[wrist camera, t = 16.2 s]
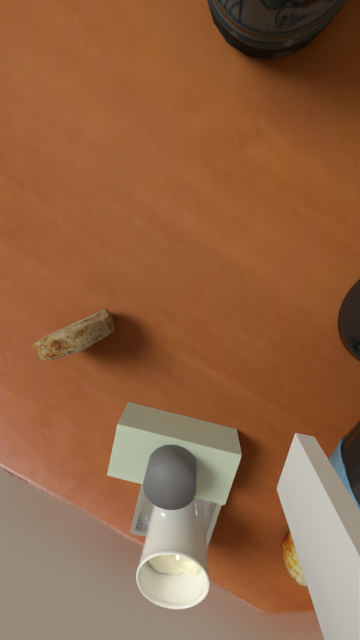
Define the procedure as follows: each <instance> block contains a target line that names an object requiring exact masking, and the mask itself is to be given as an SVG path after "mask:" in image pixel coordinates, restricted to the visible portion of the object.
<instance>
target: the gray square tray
mask: <svg viewBox="0 0 360 640" xmlns="http://www.w3.org/2000/svg"><path fill="white" fill-rule="evenodd" d="M202 501H203V506H204V517H205V530H206V544H207V547H208V544H209V542H210V539H211V536H212V533H213V530H214V527H215V524H216V521H217V518H218V515H219V512H220V509H221V506H222V505H221V504H217V503H214V502H210V501H206V500H202ZM153 508H154V504H152V503H151V502H150V501H149V500H148V499H147V497H146V496H145V494H144V491H143V484H141V488H140V492H139V496H138V500H137V504H136V508H135V513H134V517H133V521H132V525H131V529H130V533H132V534H135V535H139V536H143V537H146V535H147V531H148V527H149V523H150V519H151V515H152V511H153Z"/></svg>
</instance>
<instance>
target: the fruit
mask: <svg viewBox="0 0 360 640" xmlns="http://www.w3.org/2000/svg"><path fill="white" fill-rule="evenodd" d="M281 546H282V554H283V561H284V562H283V563H284V564H285V567H286V569H287V570H288V572H289V574H290V575H291V577H293V578H294V579H295V580H296V581H297V582H298V583H299V584H301V585H303V586H306V587H307V588H308V586H307V583H306V580H305V577H304V573H303V570H302V567H301V564H300V561H299V558H298V555H297V551H296V548H295V545H294V542H293V539H292V536H291V532H290V531H289V533H288V534H286V536H285V538H284V540H283V542H282V545H281Z"/></svg>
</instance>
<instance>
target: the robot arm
mask: <svg viewBox="0 0 360 640" xmlns="http://www.w3.org/2000/svg"><path fill="white" fill-rule="evenodd" d="M338 330H339V335H340V338H341V341H342V343H343V345H344V347H345V348H346V350H347V351H348V352H349V353H350V354H351V355H352V356H353V357H354V358H356V359H357V360H358V361H360V280H359V281H358V282H356V283H355V285H354V286H353V287H352V288H351V289H350V290H349V292H348V293H347V295H346V297H345V298H344V300H343V303H342V305H341V308H340V311H339V316H338ZM277 491H278V495H279V498H280V501H281V504H282V507H283V510H284V514H285V517H286V520H287V523H288V526H289V529H290V532H291V536H292V539H293V542H294V545H295V548H296V551H297V555H298V558H299V561H300V564H301V567H302V570H303V573H304V577H305V580H306V583H307V586H308V589H309V592H310V596H311V599H312V602H313V605H314V608H315V611H316V614H317V617H318V621H319V624H320V627H321V630H322V633H323V637H324V640H360V421H359V422H358V423H357V424H356V426H355V427H354V428H353V429H352V430H351V431H350V432H349V433H348V434H347V435H345V436H343V437H342V438H341V439H340V441H339V443H338V446H337V448H336V449H335V450H334V452H333V453H332V454H331V456H330V457H329V458H327V457H326V455H325V453H324V452H323V450H322V448H321V447H320V445H319V443H318V442H317V440H316V439H315V437H313V436H308V435H303V434H299V433H295V435H294V438H293V441H292V444H291V447H290V450H289V453H288V456H287V459H286V462H285V465H284V468H283V471H282V474H281V477H280V480H279V483H278V486H277Z"/></svg>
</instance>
